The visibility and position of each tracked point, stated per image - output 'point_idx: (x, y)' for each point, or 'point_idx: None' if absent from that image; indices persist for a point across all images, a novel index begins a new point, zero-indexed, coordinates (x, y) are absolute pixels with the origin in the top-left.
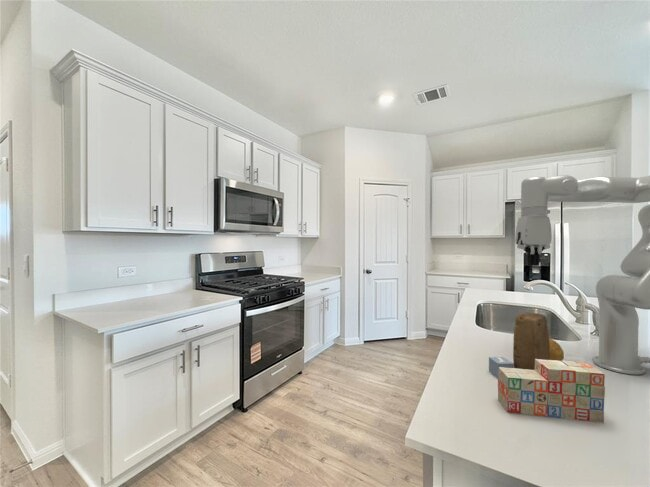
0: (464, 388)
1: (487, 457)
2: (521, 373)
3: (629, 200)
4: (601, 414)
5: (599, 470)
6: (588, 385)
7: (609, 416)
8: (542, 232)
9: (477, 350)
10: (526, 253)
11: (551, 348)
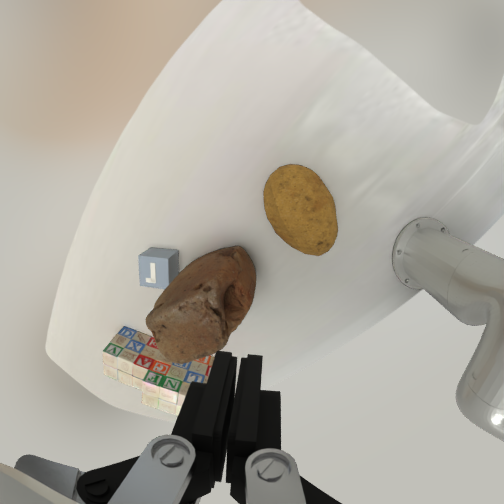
0: (94, 294)
1: (87, 384)
2: (124, 371)
3: None
4: None
5: (159, 413)
6: None
7: None
8: None
9: (188, 138)
10: (158, 439)
11: (300, 249)
